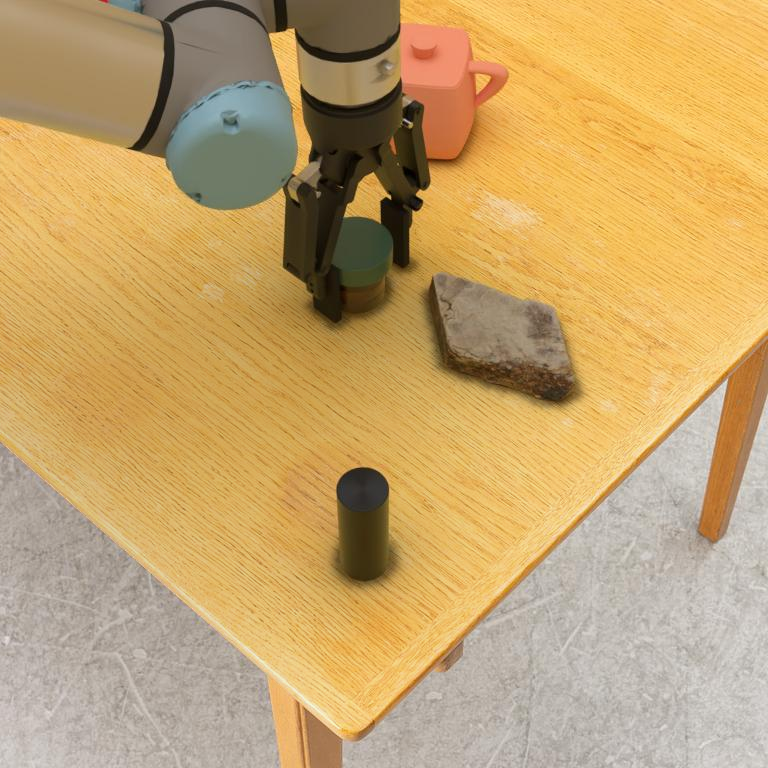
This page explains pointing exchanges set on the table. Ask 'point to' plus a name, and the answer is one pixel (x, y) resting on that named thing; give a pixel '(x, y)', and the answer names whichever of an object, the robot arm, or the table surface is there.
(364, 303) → the chip pile
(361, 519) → the black cylinder
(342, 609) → the table surface
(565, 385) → the stone
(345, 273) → the green chip
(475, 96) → the teapot
